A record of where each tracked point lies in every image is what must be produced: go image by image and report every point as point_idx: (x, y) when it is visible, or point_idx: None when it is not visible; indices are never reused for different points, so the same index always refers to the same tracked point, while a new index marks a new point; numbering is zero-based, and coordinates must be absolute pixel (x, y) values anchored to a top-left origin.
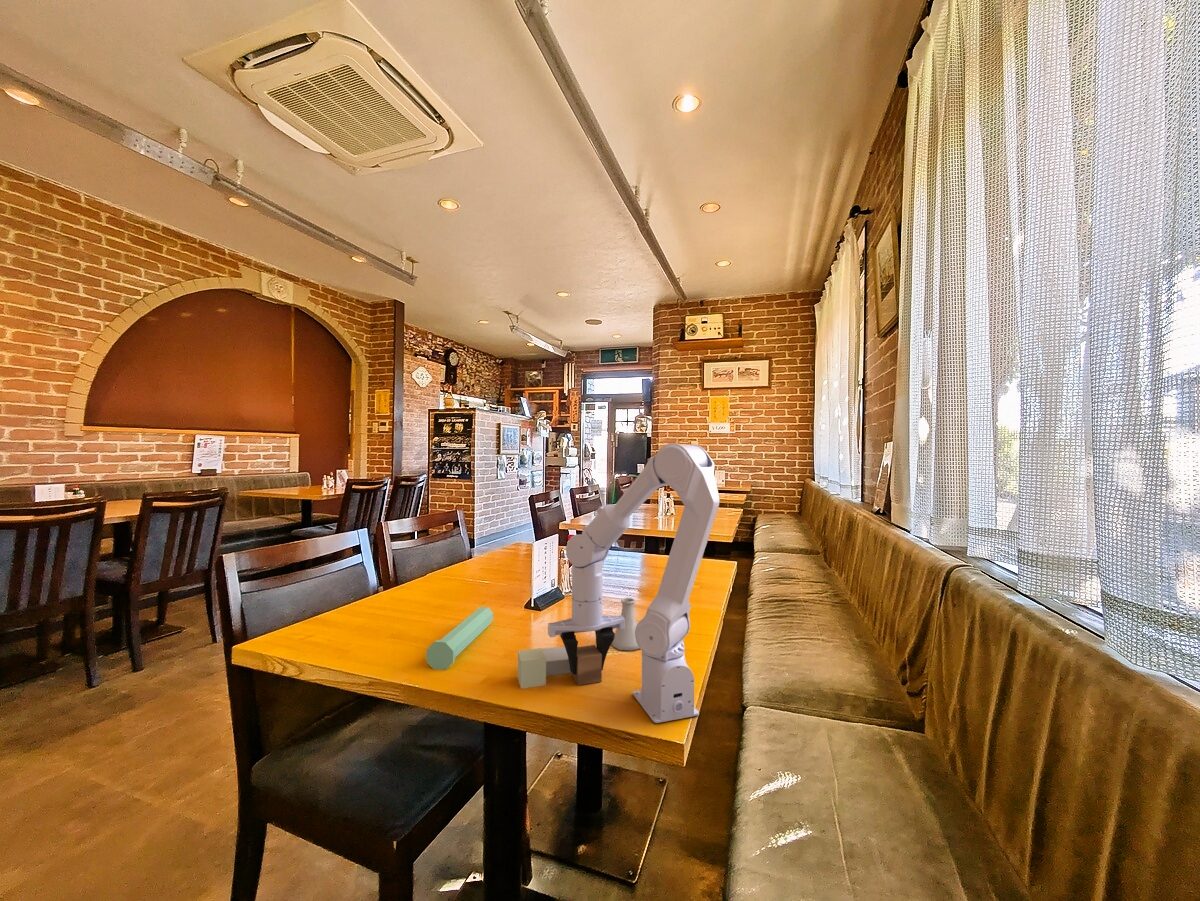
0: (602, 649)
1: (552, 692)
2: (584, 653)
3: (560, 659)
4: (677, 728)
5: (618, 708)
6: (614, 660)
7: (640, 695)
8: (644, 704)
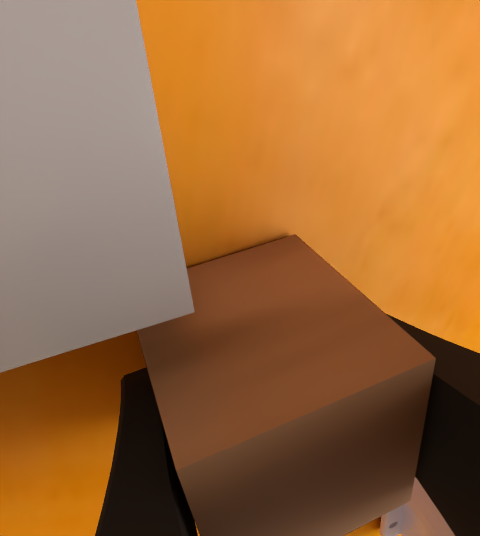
0: (447, 515)
1: (3, 494)
2: (289, 529)
3: (7, 354)
4: None
5: None
6: (475, 54)
7: None
8: None
